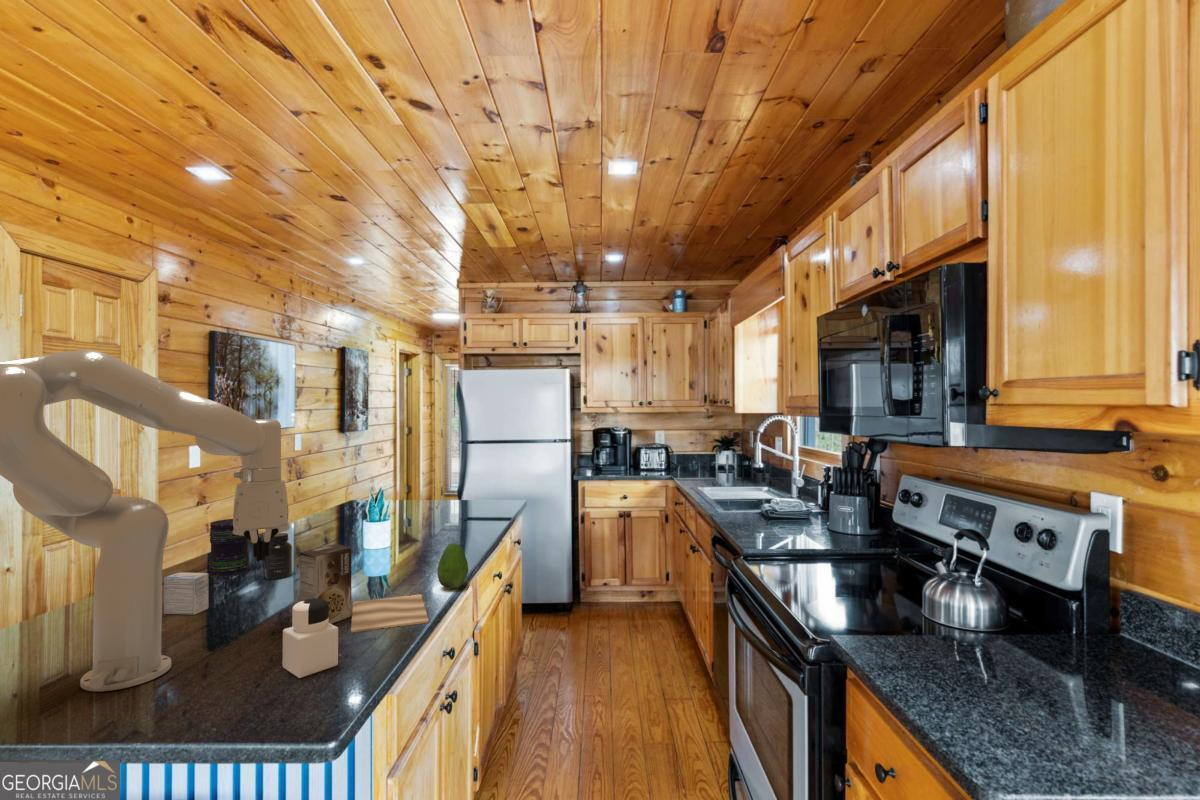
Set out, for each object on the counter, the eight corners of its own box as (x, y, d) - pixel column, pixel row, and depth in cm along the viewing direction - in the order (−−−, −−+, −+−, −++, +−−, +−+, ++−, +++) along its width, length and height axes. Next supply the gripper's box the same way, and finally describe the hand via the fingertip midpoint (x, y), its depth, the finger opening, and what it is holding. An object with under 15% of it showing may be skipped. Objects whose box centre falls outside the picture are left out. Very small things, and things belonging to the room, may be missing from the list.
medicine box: (209, 609, 139) (209, 572, 139) (194, 615, 134) (194, 578, 134) (178, 608, 139) (179, 571, 140) (163, 614, 135) (163, 577, 135)
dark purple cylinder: (215, 569, 173) (216, 519, 174) (252, 566, 176) (253, 517, 177) (203, 578, 164) (204, 525, 164) (243, 575, 167) (244, 523, 167)
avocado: (460, 593, 150) (461, 547, 150) (432, 591, 151) (432, 545, 152) (472, 584, 158) (472, 540, 158) (445, 583, 159) (445, 539, 160)
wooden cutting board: (428, 622, 129) (428, 620, 129) (350, 632, 123) (350, 630, 123) (421, 596, 148) (421, 594, 148) (353, 603, 142) (353, 601, 142)
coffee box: (335, 612, 136) (335, 543, 137) (352, 617, 133) (352, 546, 133) (297, 624, 128) (298, 551, 129) (315, 630, 125) (316, 555, 125)
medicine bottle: (320, 655, 112) (321, 593, 112) (338, 665, 108) (339, 600, 108) (281, 667, 107) (282, 602, 107) (298, 679, 102) (299, 610, 102)
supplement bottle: (265, 574, 168) (266, 533, 168) (292, 572, 170) (292, 531, 171) (263, 581, 161) (263, 537, 162) (291, 578, 164) (291, 535, 164)
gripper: (217, 479, 120) (217, 567, 120) (298, 475, 126) (298, 560, 126) (225, 475, 127) (225, 559, 127) (301, 472, 133) (301, 552, 133)
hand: (261, 559), depth 126 cm, fingers closed
